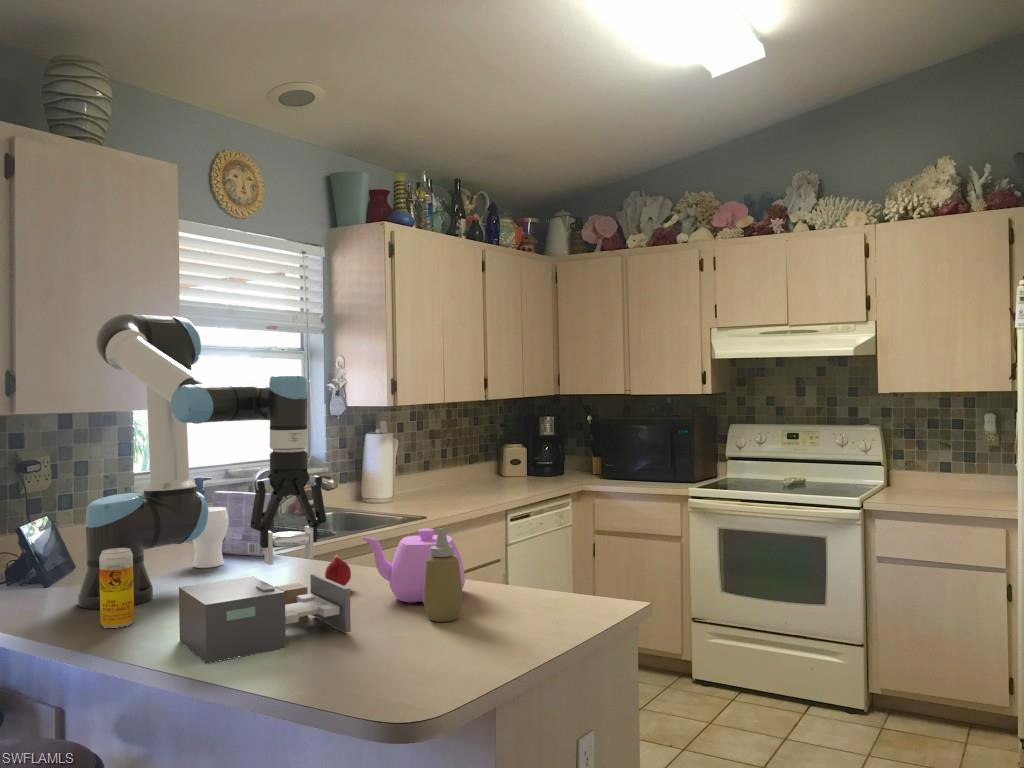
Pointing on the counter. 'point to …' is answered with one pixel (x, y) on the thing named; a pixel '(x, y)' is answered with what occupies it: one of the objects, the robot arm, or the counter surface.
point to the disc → (290, 538)
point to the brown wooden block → (293, 592)
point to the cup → (211, 539)
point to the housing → (232, 618)
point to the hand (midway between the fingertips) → (289, 560)
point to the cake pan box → (240, 522)
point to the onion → (338, 571)
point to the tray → (323, 604)
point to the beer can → (116, 587)
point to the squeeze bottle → (442, 582)
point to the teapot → (410, 564)
